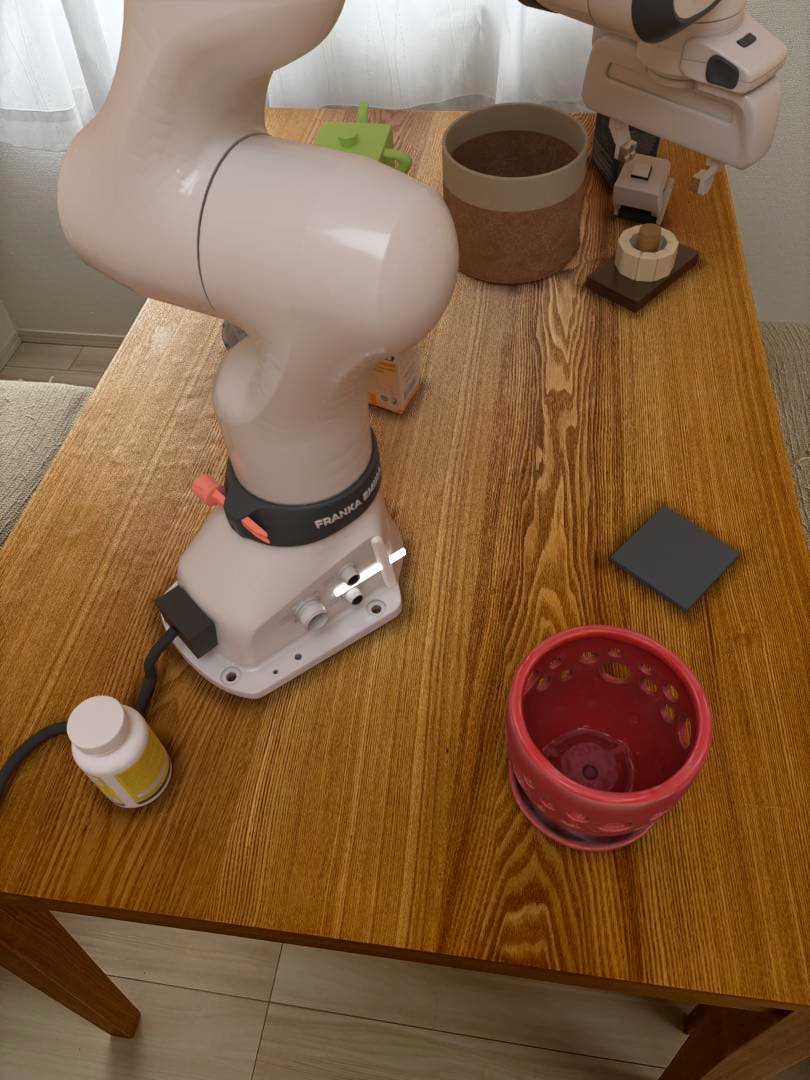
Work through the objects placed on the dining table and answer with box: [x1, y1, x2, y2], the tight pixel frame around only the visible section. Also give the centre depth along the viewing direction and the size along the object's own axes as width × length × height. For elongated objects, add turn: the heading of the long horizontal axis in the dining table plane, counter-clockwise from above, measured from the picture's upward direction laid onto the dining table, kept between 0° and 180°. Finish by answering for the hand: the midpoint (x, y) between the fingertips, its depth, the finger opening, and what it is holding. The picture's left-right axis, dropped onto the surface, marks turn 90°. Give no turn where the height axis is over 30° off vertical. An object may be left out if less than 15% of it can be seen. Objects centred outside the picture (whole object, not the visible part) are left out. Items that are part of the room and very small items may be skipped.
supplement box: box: [368, 342, 420, 415], centre depth 86 cm, size 8×5×13 cm, turn 64°
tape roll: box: [614, 224, 680, 282], centre depth 98 cm, size 6×7×3 cm
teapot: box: [312, 100, 413, 174], centre depth 107 cm, size 15×13×11 cm
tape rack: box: [585, 223, 701, 314], centre depth 98 cm, size 12×7×6 cm, turn 135°
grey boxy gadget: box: [611, 153, 675, 226], centre depth 104 cm, size 6×7×10 cm
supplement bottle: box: [66, 695, 173, 809], centre depth 64 cm, size 5×5×10 cm
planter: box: [441, 101, 590, 285], centre depth 100 cm, size 16×16×14 cm
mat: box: [609, 505, 741, 614], centre depth 76 cm, size 8×8×1 cm
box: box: [590, 112, 661, 190], centre depth 109 cm, size 8×6×11 cm
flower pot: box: [504, 624, 714, 853], centre depth 61 cm, size 13×13×12 cm
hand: (661, 174), depth 91 cm, fingers open, 8 cm apart
